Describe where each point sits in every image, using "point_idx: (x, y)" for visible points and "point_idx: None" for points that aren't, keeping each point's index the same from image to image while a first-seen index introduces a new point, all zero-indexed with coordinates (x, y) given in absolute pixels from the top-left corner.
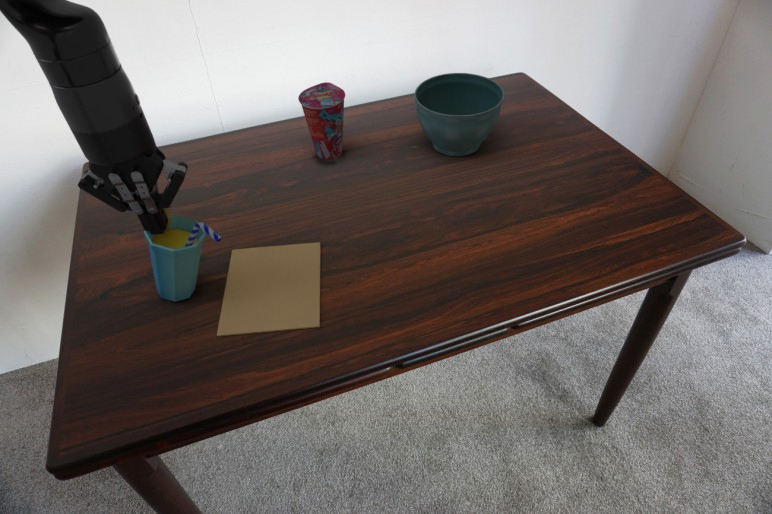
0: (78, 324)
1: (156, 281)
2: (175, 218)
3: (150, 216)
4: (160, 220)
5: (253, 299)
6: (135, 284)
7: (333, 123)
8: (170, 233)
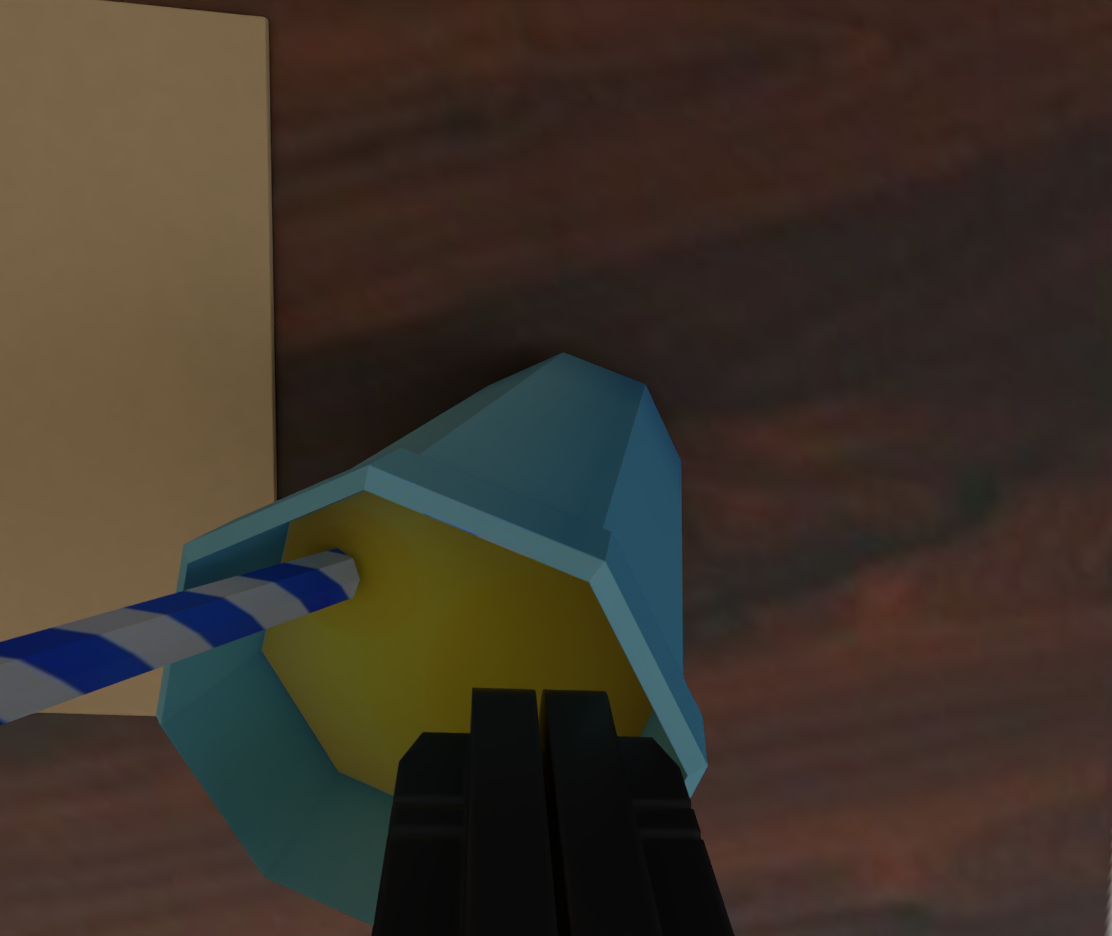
0: (1104, 306)
1: (664, 462)
2: None
3: (523, 904)
4: (427, 841)
5: (68, 293)
6: (813, 550)
7: None
8: None
